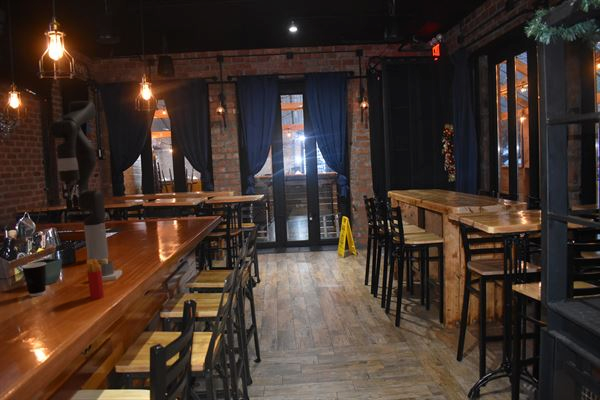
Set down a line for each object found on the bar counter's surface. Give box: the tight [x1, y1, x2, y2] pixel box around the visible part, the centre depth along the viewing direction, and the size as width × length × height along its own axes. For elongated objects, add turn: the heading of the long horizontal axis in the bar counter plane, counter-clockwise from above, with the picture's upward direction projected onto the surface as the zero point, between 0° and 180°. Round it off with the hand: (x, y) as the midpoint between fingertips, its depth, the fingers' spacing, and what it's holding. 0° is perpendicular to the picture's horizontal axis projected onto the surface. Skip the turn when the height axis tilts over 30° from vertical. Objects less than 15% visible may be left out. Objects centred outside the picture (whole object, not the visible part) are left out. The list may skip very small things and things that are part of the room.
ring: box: [99, 260, 115, 276], centre depth 195 cm, size 6×6×4 cm
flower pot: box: [27, 258, 62, 286], centre depth 193 cm, size 9×9×9 cm
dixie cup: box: [20, 262, 47, 297], centre depth 177 cm, size 8×8×11 cm
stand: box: [100, 258, 123, 282], centre depth 195 cm, size 10×10×8 cm
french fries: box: [86, 258, 105, 301], centre depth 168 cm, size 9×4×13 cm, turn 19°
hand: (73, 208), depth 205 cm, fingers open, 8 cm apart
